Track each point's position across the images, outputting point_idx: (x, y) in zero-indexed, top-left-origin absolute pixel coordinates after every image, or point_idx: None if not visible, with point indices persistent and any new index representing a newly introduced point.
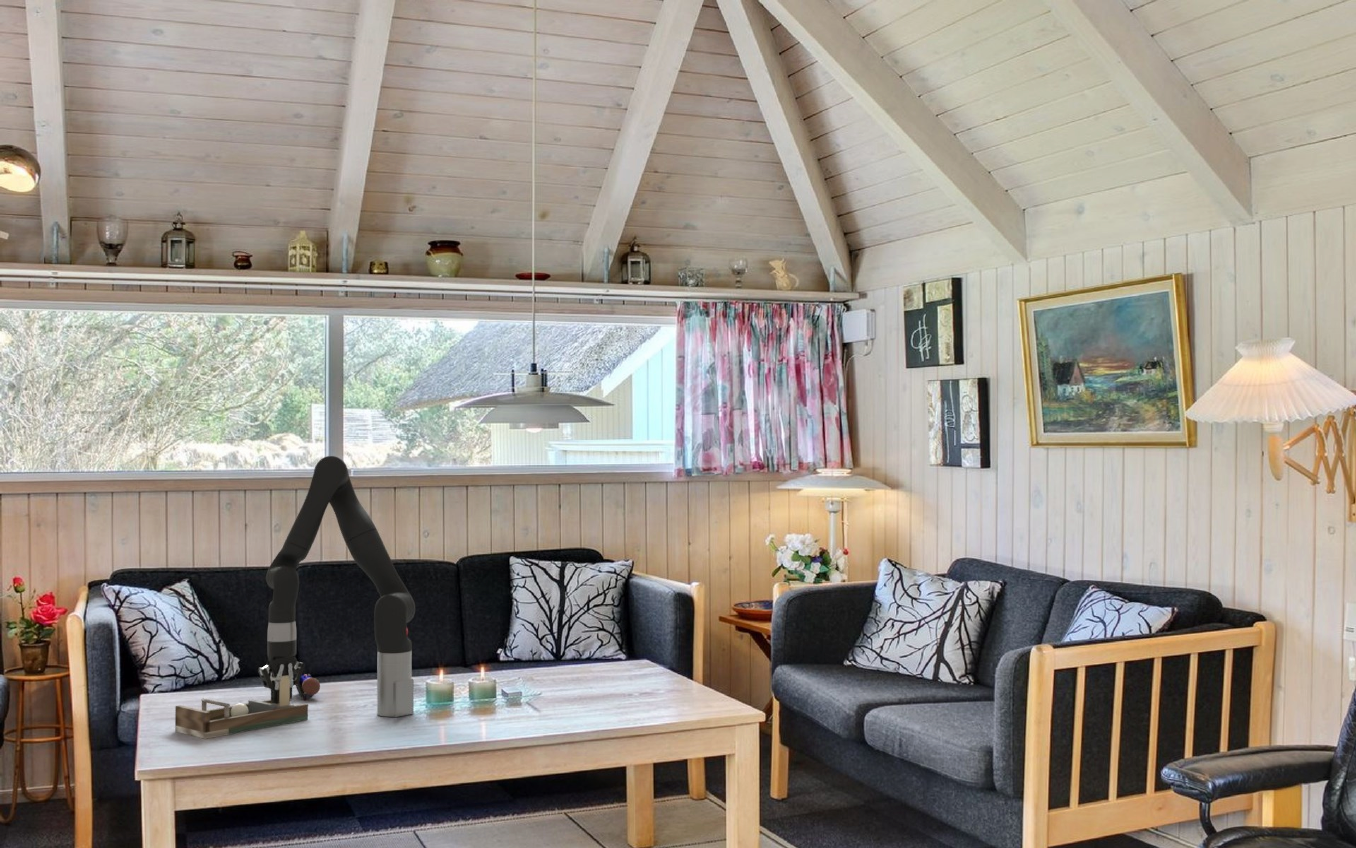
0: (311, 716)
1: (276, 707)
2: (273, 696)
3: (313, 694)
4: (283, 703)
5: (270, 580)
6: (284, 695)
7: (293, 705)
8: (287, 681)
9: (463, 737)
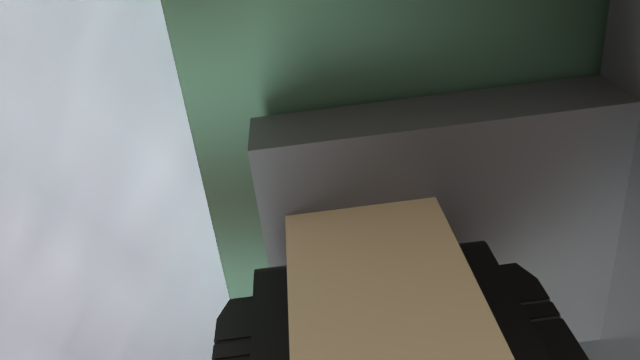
0: (46, 49)
1: (504, 169)
2: (562, 321)
3: None
4: (385, 222)
5: None
6: (390, 298)
7: (261, 149)
8: None
9: None
